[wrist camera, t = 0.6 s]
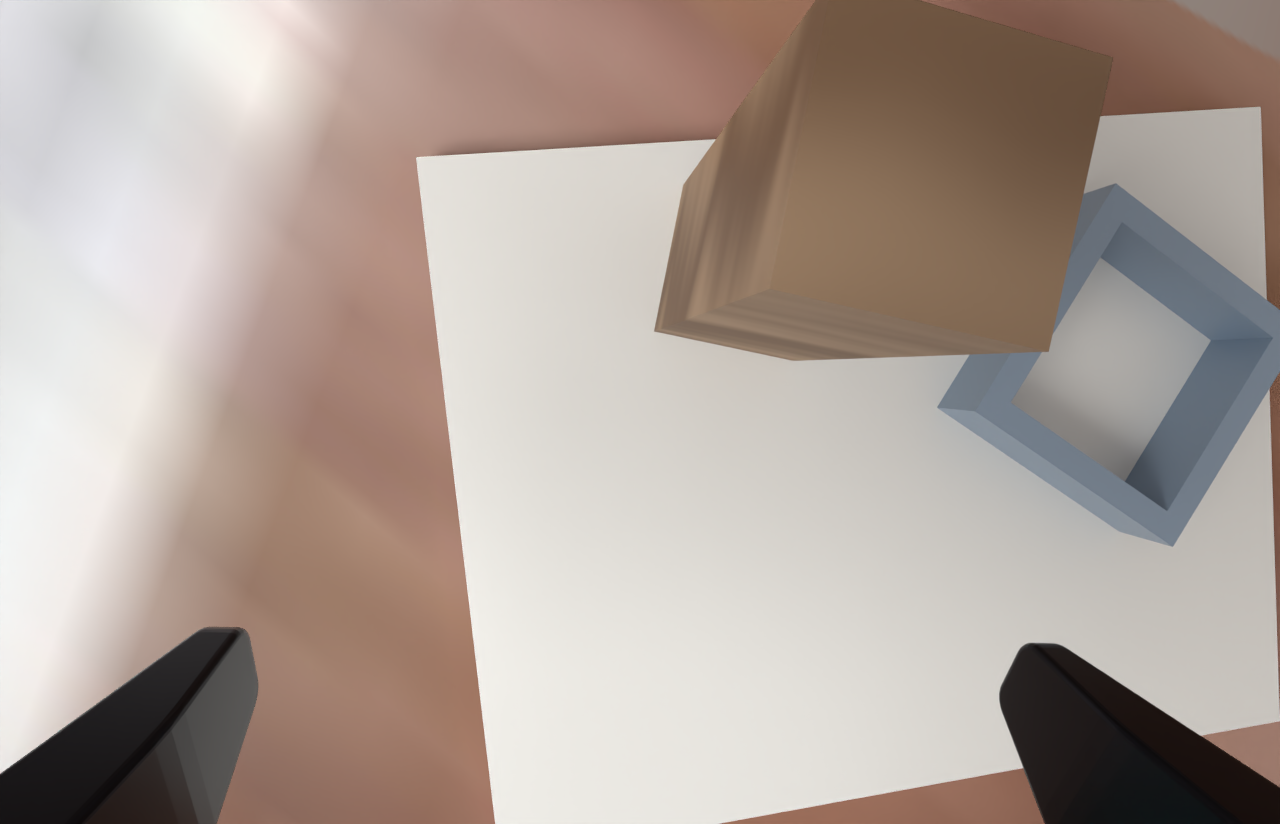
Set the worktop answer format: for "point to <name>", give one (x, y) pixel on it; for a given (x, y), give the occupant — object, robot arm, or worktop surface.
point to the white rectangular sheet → (811, 505)
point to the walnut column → (890, 191)
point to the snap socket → (1204, 408)
